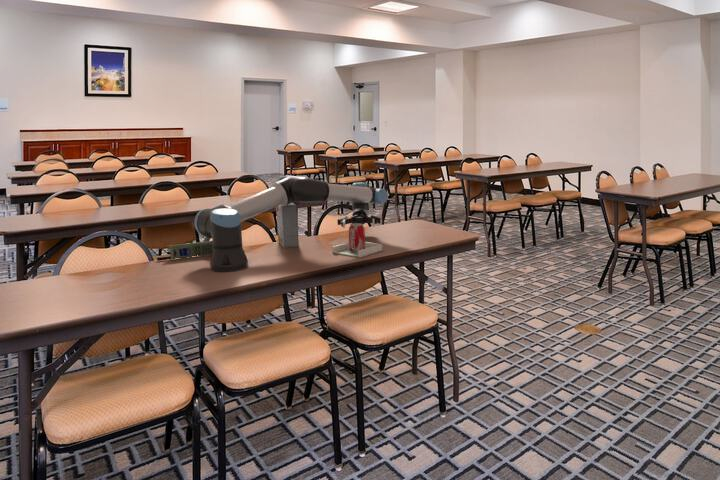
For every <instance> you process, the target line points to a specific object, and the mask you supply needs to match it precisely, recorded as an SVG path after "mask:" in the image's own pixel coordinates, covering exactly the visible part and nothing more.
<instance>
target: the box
mask: <svg viewBox="0 0 720 480" xmlns="http://www.w3.org/2000/svg"><path fill="white" fill-rule="evenodd" d="M331 249H332V251H331V252H332V254H335V255H340V256H347V257H353V258H359V259H360V258H364V257H367V256H371V255H374V254H378V253H381V252H383V251H384V244H383V243H377V242H375V243H374V242H368V241H365V249H362V250H359V251H358V252H352V251H351V250H350V247H349V241H348V242H344V243H342V244H338V245H337V244H336V245H333V246H332V247H331Z"/></svg>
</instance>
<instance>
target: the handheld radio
mask: <svg viewBox="0 0 720 480" xmlns="http://www.w3.org/2000/svg"><path fill="white" fill-rule="evenodd" d="M212 253H213V241H212V240H207V241H199V242H189V243H188V242H187V243H180V244H178V243H177V244H171V245H168V247H167V252H166V254H167V255H169V256H160V257H156V260H157V261H166V260H171V259H175V258H187V257H192V256H197V255H198V256H203V257H210V256H211V257H212ZM187 259H188V258H187Z"/></svg>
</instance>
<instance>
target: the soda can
mask: <svg viewBox="0 0 720 480" xmlns="http://www.w3.org/2000/svg"><path fill="white" fill-rule="evenodd" d="M365 231H366V229H365V227H364V224H362V223H353V224H352V223H350V224H349V228H348V242H349V247H350V250H351V251H352V252H358V251H359V250H362V249H365V242H366V232H365Z"/></svg>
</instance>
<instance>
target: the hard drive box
mask: <svg viewBox="0 0 720 480" xmlns="http://www.w3.org/2000/svg"><path fill="white" fill-rule="evenodd" d="M275 209H276V225H277V226H276V228H277V238H278V239H277V240H278V241H279V242H278V244H280V245H281V247H282V248H283V249H287V248H288V247H290V248H297V247H300V244H299V240H300V239H299V227H298V211H297V209H298V208H297V205H296V204H295V203H294V202H293V203H291V204H288V205H286V206H281V205H278V206H276V207H275Z"/></svg>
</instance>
